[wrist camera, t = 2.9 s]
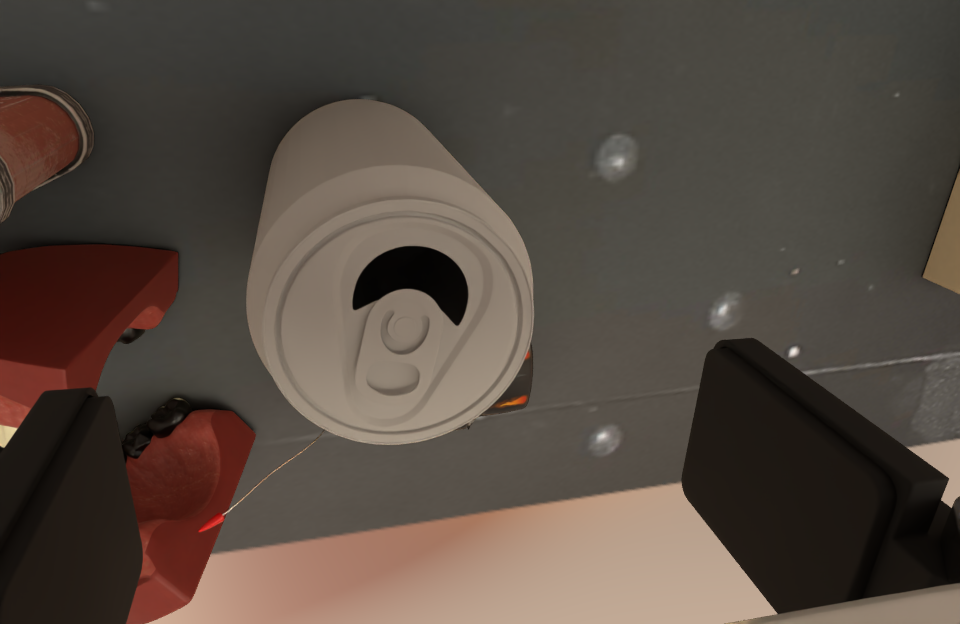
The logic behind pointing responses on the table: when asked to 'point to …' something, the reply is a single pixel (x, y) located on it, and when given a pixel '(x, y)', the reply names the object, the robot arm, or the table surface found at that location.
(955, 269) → the scale
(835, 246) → the table surface
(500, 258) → the beverage can
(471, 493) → the table surface
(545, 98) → the table surface
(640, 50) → the table surface
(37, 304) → the teeth
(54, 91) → the lighter
